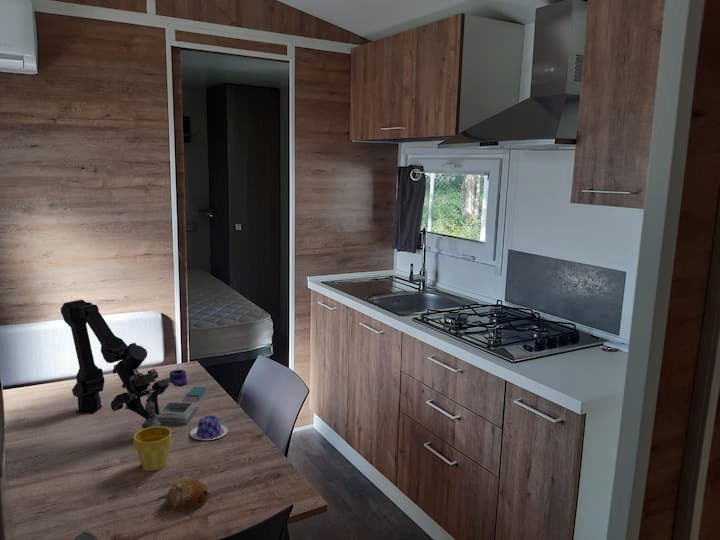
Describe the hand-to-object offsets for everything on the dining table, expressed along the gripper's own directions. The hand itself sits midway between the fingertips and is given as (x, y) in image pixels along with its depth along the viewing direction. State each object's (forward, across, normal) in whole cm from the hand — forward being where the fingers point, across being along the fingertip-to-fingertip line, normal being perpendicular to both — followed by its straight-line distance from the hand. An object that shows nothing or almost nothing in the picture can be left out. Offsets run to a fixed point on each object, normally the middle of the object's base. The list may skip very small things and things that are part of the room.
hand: (153, 416), depth 186 cm
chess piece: (+4, 0, +6) cm, 7 cm away
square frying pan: (-3, +21, +12) cm, 25 cm away
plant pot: (+16, -12, -6) cm, 21 cm away
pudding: (+14, +12, -4) cm, 19 cm away
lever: (-18, +37, +28) cm, 50 cm away
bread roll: (+32, -18, -22) cm, 43 cm away
